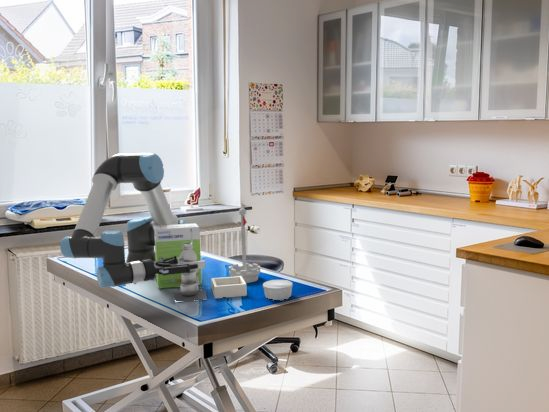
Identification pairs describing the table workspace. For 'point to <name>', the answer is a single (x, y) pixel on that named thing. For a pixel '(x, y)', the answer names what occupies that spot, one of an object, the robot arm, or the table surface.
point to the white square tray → (228, 287)
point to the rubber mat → (198, 296)
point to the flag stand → (244, 258)
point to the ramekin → (278, 289)
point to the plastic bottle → (188, 279)
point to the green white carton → (175, 249)
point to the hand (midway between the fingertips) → (198, 261)
